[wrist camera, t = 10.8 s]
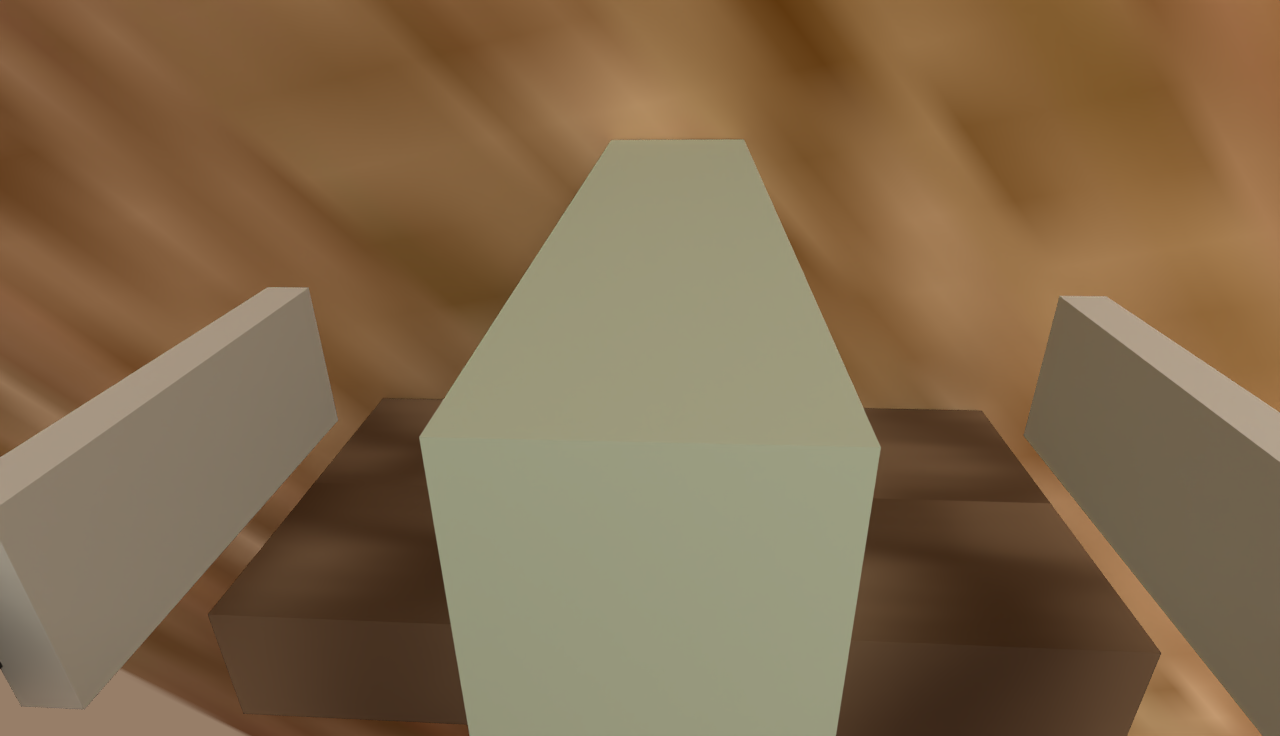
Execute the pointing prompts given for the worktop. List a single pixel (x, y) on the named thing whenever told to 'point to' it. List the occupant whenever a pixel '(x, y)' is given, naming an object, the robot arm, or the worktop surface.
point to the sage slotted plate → (655, 471)
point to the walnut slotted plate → (883, 623)
